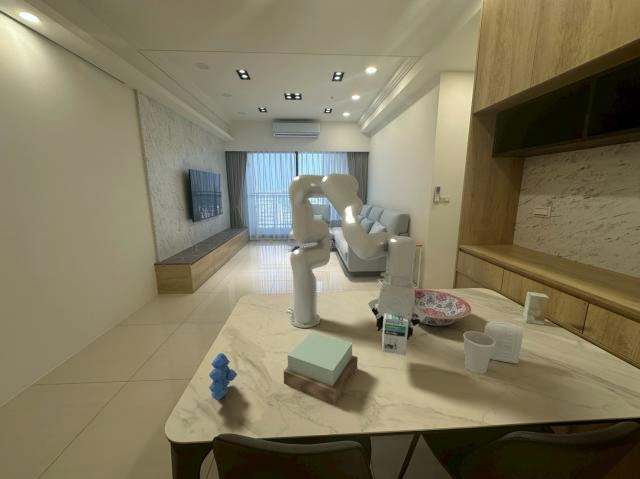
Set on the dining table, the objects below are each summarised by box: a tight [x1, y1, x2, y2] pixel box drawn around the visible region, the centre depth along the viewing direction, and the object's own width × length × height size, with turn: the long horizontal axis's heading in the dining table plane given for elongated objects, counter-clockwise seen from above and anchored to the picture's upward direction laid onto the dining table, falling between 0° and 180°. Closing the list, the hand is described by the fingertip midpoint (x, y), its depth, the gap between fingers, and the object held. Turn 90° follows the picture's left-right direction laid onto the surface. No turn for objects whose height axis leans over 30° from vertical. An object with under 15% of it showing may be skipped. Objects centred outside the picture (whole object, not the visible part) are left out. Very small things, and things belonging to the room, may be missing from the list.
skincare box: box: [522, 291, 550, 326], centre depth 108 cm, size 6×4×12 cm
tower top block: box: [287, 331, 353, 386], centre depth 77 cm, size 14×14×4 cm
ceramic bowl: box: [413, 288, 472, 327], centre depth 111 cm, size 29×29×8 cm
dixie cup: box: [462, 330, 495, 374], centre depth 80 cm, size 8×8×10 cm
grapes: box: [208, 352, 238, 401], centre depth 69 cm, size 12×7×12 cm, turn 8°
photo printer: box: [483, 321, 524, 364], centre depth 84 cm, size 10×4×12 cm, turn 72°
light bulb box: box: [381, 314, 409, 356], centre depth 79 cm, size 11×7×11 cm, turn 168°
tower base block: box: [283, 354, 359, 406], centre depth 77 cm, size 16×16×4 cm
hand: (393, 333), depth 80 cm, fingers closed on light bulb box, 8 cm apart
